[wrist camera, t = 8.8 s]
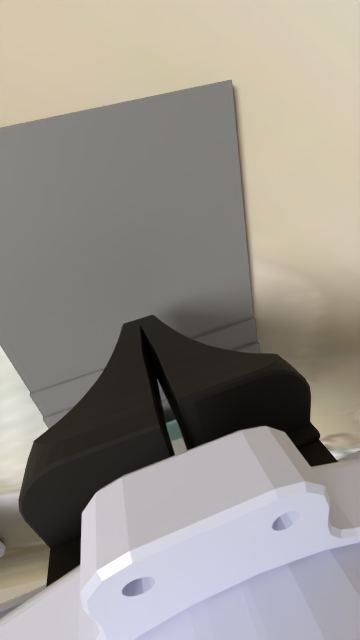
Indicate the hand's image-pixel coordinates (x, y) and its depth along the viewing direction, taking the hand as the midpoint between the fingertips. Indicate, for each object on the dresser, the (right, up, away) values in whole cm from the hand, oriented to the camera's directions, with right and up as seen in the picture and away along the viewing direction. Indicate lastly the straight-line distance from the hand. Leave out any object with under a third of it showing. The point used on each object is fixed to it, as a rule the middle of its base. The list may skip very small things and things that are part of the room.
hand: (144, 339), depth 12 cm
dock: (0, -1, +4) cm, 4 cm away
